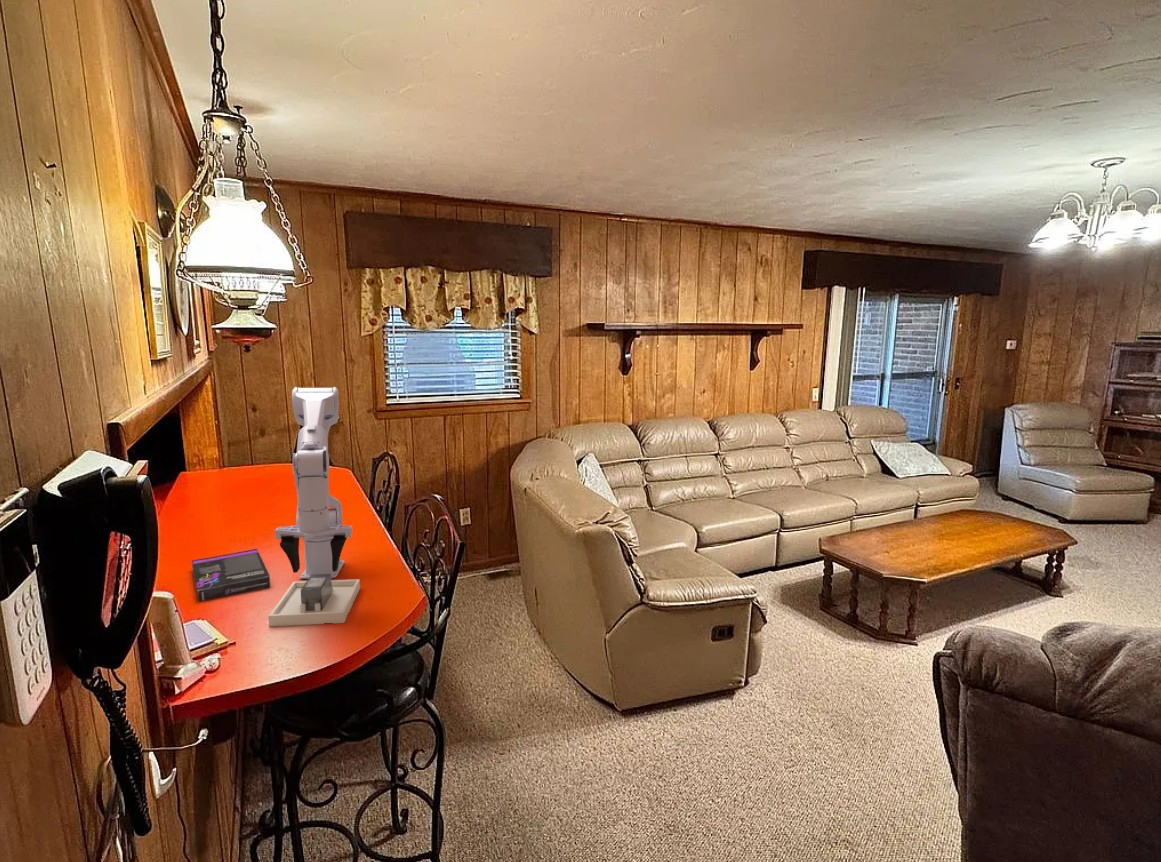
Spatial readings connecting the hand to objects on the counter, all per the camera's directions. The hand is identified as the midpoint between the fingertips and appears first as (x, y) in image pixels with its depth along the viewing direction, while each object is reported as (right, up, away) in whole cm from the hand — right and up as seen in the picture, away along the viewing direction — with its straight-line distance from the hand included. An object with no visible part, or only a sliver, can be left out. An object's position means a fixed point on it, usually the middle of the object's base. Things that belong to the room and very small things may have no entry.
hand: (316, 570), depth 126 cm
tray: (0, -8, +1) cm, 8 cm away
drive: (0, -7, +1) cm, 7 cm away
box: (-26, -6, +13) cm, 29 cm away
